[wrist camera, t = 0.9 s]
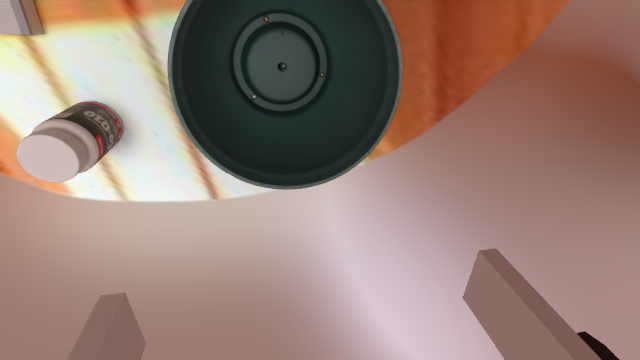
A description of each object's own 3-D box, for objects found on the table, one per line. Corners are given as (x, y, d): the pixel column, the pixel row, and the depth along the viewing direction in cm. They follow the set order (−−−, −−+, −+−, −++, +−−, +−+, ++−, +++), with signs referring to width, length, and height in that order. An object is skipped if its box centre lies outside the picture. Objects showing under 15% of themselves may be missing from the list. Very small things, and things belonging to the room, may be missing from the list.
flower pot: (222, -74, 26) (204, -118, 16) (388, 16, 31) (445, 22, 22) (176, 110, 32) (144, 154, 23) (322, 159, 37) (344, 210, 28)
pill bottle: (134, 137, 32) (99, 175, 25) (90, 153, 32) (42, 196, 25) (104, 92, 30) (56, 120, 23) (56, 110, 30) (-7, 143, 23)
